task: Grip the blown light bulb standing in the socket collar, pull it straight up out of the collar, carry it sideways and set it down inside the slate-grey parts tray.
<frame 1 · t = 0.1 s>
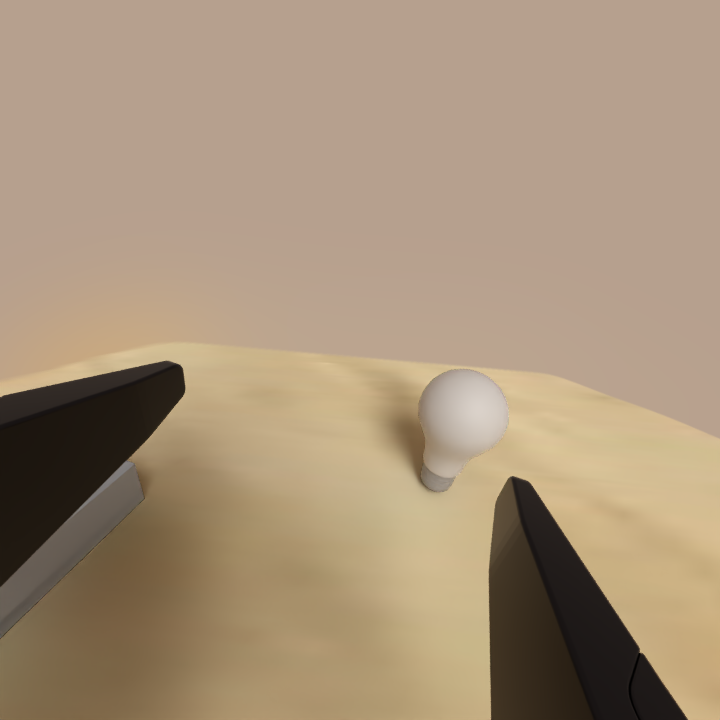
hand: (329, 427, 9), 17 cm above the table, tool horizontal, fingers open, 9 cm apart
lightbulb: (432, 486, 29), on the table
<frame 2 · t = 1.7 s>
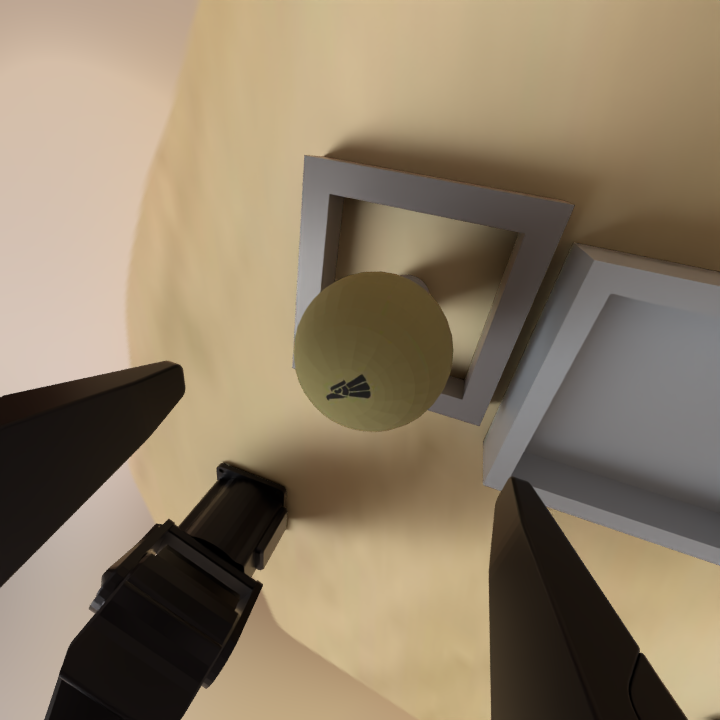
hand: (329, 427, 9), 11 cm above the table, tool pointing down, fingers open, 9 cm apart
socket collar: (409, 292, 19), on the table
parts tray: (668, 398, 17), on the table
light bulb: (409, 291, 19), resting in socket collar
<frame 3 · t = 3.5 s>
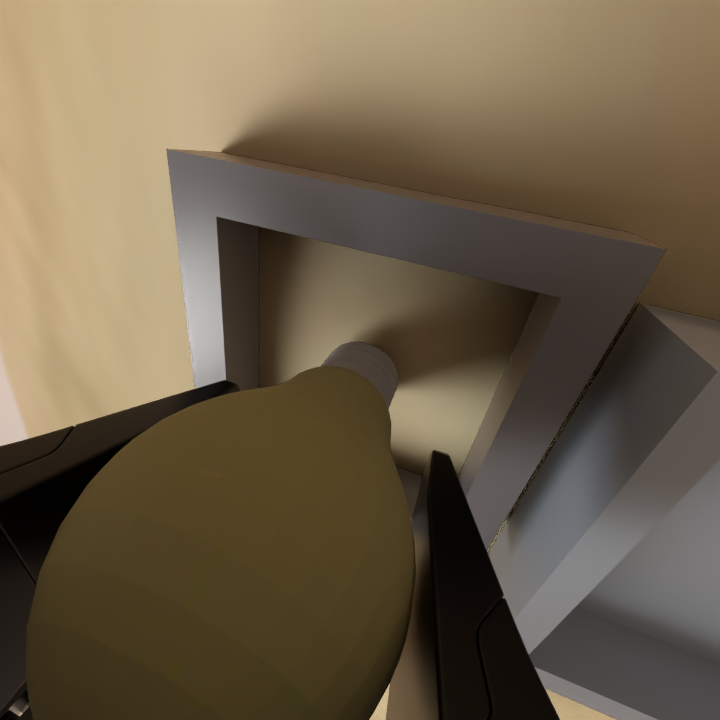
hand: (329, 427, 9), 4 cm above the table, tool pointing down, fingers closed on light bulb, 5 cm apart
socket collar: (367, 363, 12), on the table
light bulb: (369, 360, 12), resting in socket collar, touching gripper
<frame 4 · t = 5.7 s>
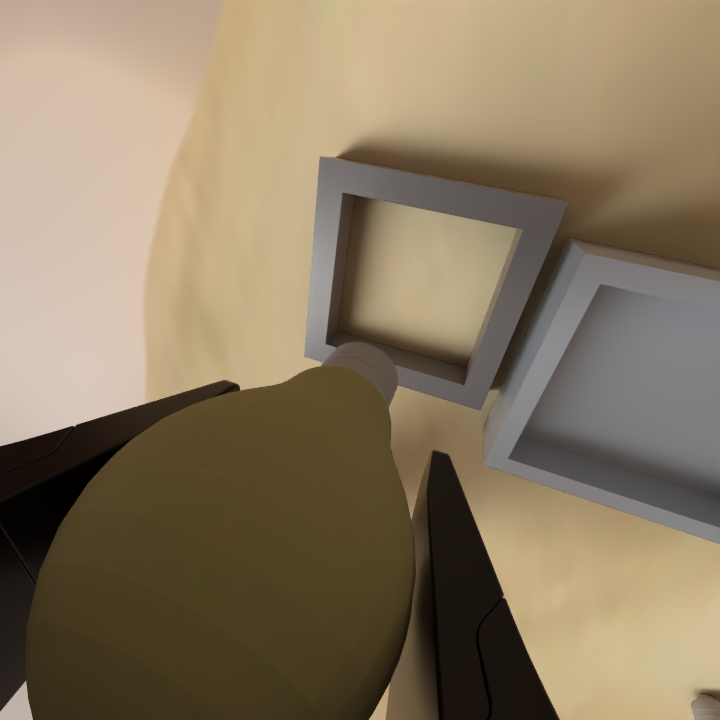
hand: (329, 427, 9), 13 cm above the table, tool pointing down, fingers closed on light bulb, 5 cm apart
socket collar: (414, 285, 20), on the table
parts tray: (656, 383, 18), on the table
light bulb: (369, 360, 12), point 9 cm above the table, touching gripper
lightbulb: (704, 693, 28), on the table
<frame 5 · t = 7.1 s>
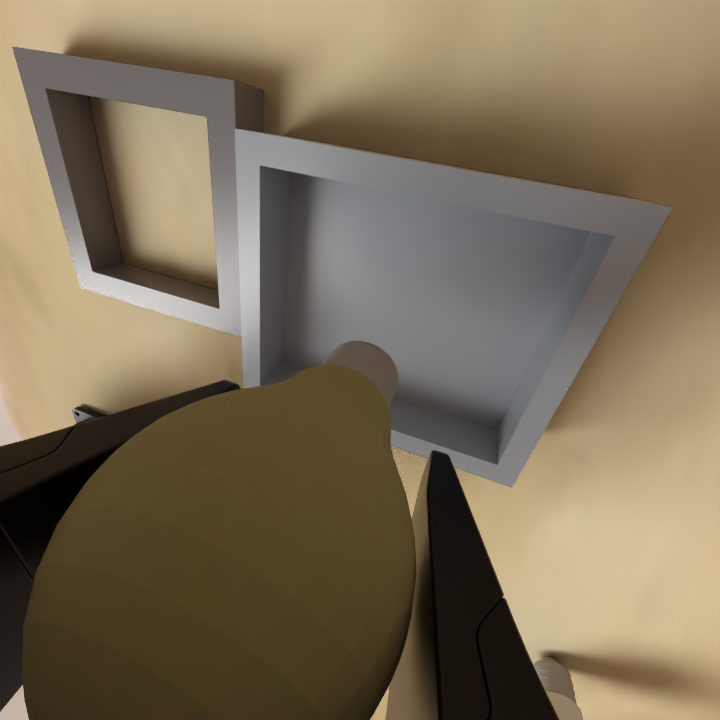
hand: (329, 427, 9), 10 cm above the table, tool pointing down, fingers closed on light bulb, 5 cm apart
socket collar: (170, 203, 19), on the table
parts tray: (407, 302, 17), on the table
light bulb: (369, 359, 12), point 6 cm above the table, touching gripper
lightbulb: (549, 655, 27), on the table
when the fingers open (6 cm above the table, at t = 8.0 s): light bulb drops 2 cm, resting on parts tray.
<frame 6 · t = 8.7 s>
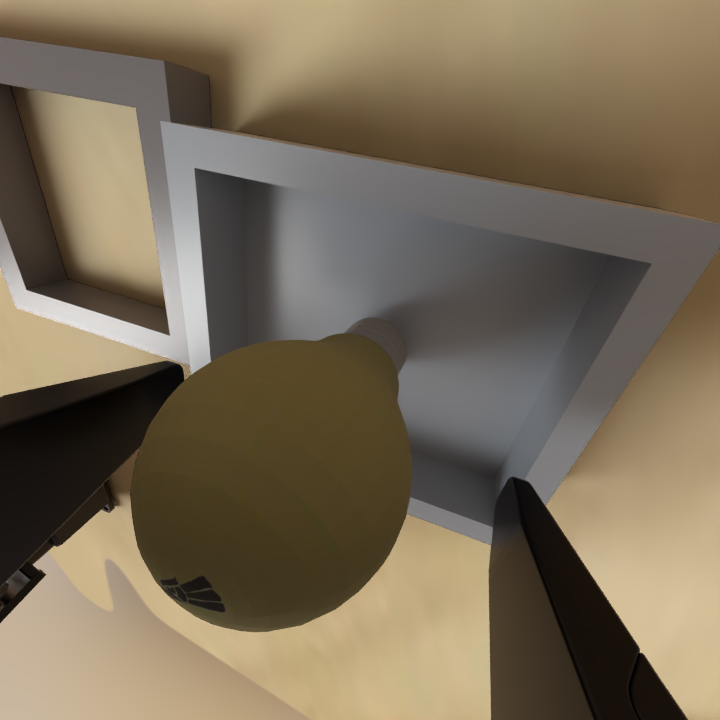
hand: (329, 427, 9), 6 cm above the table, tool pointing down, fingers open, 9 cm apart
socket collar: (113, 212, 16), on the table
parts tray: (389, 329, 14), on the table
light bulb: (383, 336, 14), point 1 cm above the table, touching parts tray
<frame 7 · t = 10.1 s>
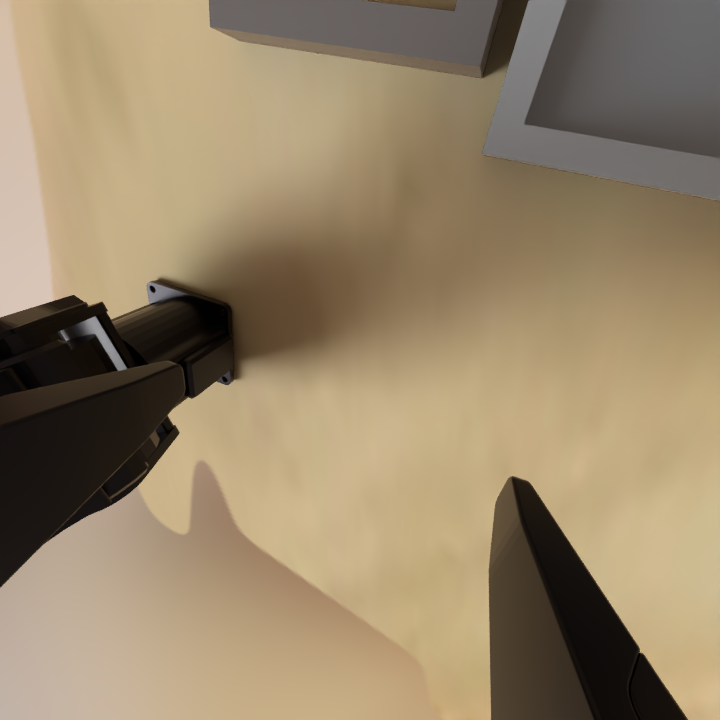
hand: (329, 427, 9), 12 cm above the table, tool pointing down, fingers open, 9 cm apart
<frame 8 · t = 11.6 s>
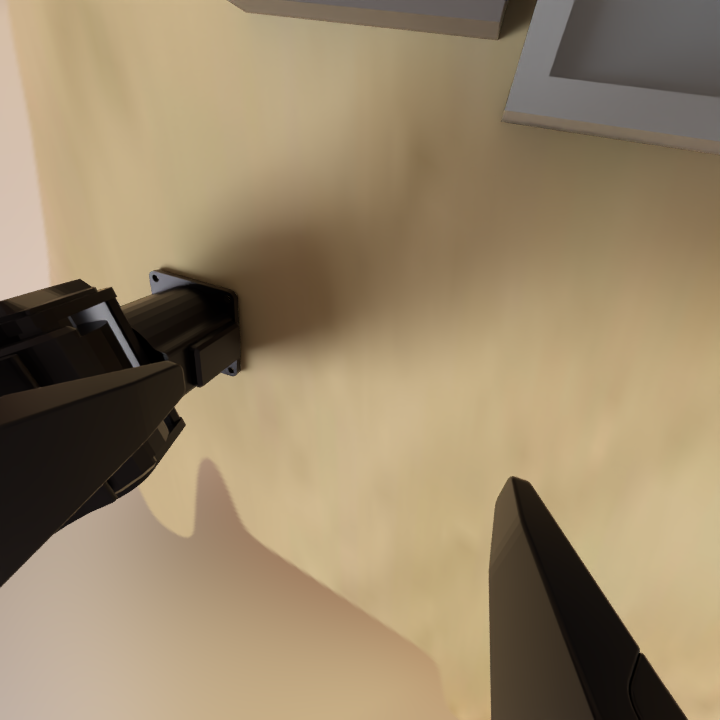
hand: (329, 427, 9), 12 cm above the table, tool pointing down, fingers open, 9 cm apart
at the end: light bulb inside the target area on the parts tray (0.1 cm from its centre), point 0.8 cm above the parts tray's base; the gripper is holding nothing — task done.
